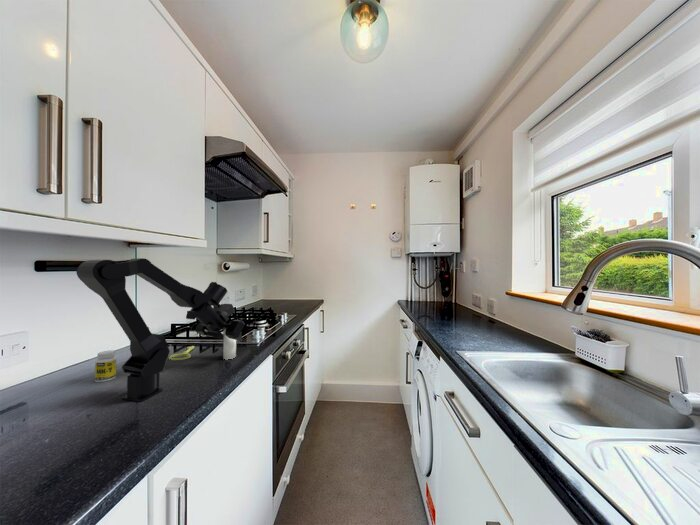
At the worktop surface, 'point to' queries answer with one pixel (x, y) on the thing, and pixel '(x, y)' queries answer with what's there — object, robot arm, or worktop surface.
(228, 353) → the white bottle
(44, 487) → the worktop surface
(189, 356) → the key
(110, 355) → the supplement bottle
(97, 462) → the worktop surface
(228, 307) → the robot arm
